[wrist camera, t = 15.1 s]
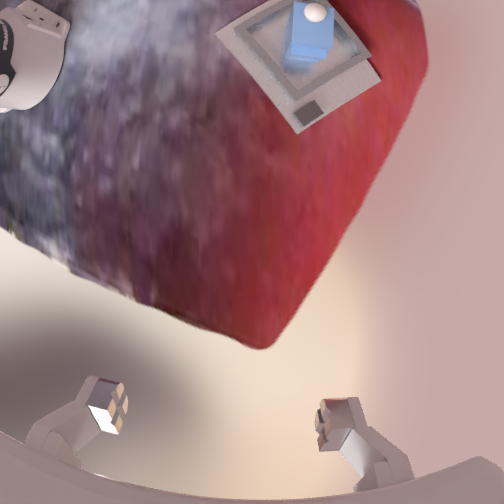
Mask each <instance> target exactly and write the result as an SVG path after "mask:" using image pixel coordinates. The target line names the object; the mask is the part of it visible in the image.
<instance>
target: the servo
mask: <svg viewBox="0 0 504 504" xmlns="http://www.w3.org/2000/svg"><path fill="white" fill-rule="evenodd" d="M333 31H334V8H329V7H328V6H323V5H321V4H318V3H305V2H298V1H294V4H293V6H292V9H291V12H290V15H289V18H288V21H287V25H286V40H285V54H284V58H292V59H300V60H307V61H314V62H318V61H320V60H326V59H327V53H328V52H329V51H330V50H331V49H332V48H333Z"/></svg>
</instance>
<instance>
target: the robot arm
mask: <svg viewBox="0 0 504 504" xmlns="http://www.w3.org/2000/svg"><path fill="white" fill-rule="evenodd" d="M59 24H60V25H59ZM58 25H59V26H58ZM69 29H70V22H69V21H67V20H65V19H64V18H62V17H60V16H59V15H57V14H55V13H54V12H52V11H50V10H49V9H47V8H45V7H43V6H42V5H40V4H38V3H36V2H34V1H32V0H26V1H25V2H23V3H22V4H20V5H19V6H18V7H17V8H12V7H7V8H5V9H3V10H2V11H1V12H0V112H1V113H5V112H8V111H10V110H12V109H19V110H25V109H29V108H31V107H33V106H35V105H36V104H38V103H39V102H40V101H41V100H42V99H43V98H44V97H45V96H46V95H47V94H48V92H49V91H50V90H51V88H52V86H53V85H54V83H55V81H56V79H57V77H58V75H59V72H60V69H61V66H62V62H63V57H64V43H65V39H66V37H67V34H68V32H69ZM123 390H124V386H123V384H122V383H118V382H115V381H110V380H106V379H102V378H99V377H94V376H89V377H88V378H87V379H86V381H85V383H84V385H83V387H82V388H81V390H80V392H79V394H78V396H77V398H76V400H75V402H73V401H71V402H70V403H68V404H66V405H65V406H63V407H61V408H59V409H58V410H56V411H54V412H52V413H51V414H49V415H47V416H45V417H44V418H42V419H40V420H39V421H37V422H35V423H34V425H33V426H32V428H31V430H30V432H29V434H28V436H27V438H26V439H25V441H24V443H21V442H19V441H17V440H16V439H14V438H12V437H10V436H8V435H6V434H4V433H3V432H1V431H0V504H504V472H503V470H502V469H501V468H500V467H498V466H497V465H496V464H494V463H492V462H491V461H489V460H487V459H485V458H483V457H481V456H477V457H474V458H471V459H469V460H466V461H464V462H462V463H459V464H457V465H454V466H452V467H449V468H446V469H443V470H441V471H438V472H435V473H432V474H428V475H426V476H422V477H419V478H414V475H413V471H412V468H411V466H410V462H409V460H408V457H407V455H406V454H404V453H403V452H402V451H401V450H400V449H398V448H397V447H396V446H394V445H393V444H392V443H391V442H389V441H388V440H387V439H386V438H384V437H383V436H382V435H381V434H380V433H378V432H377V431H376V430H375V429H373V428H372V427H371V426H370V427H368V426H367V423H366V420H365V417H364V414H363V410H362V407H361V404H360V401H359V398H358V397H349V398H333V399H332V398H331V399H322V400H321V402H320V409H319V410H317V413H316V416H315V428H316V431H317V432H318V433H319V437H318V439H317V441H318V446H319V451H320V452H323V451H339V453H340V454H341V455H342V456H343V457H344V458H345V459H346V460H347V461H348V463H349V464H350V465H351V466H352V467H353V468H354V469H355V470H356V471H357V472H358V473H359V475H360V476H361V477H362V479H361V480H360V481H359V482H358V483H357V484H356V485H355V486H354V487H353V489H354V493H348V494H342V495H334V496H326V497H316V498H304V499H286V500H243V499H224V498H213V497H203V496H195V495H187V494H180V493H173V492H168V491H162V490H158V489H153V488H148V487H143V486H139V485H134V484H131V483H127V482H123V481H119V480H116V479H112V478H109V477H106V476H102V475H99V474H96V473H93V472H90V471H87V470H84V469H81V465H82V463H81V461H80V460H79V458H78V457H77V456H76V455H75V452H77V451H78V450H79V449H80V448H82V447H83V446H84V445H85V444H87V443H88V442H89V441H90V440H91V439H93V438H94V437H95V436H96V435H97V434H99V432H101V430H102V431H106V432H110V433H114V434H119V432H120V429H121V426H122V424H123V422H122V420H121V418H122V417H123V416H125V415H126V412H127V408H128V398H127V395H126V394H125V393H124V392H123Z"/></svg>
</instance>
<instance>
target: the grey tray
mask: <svg viewBox="0 0 504 504" xmlns="http://www.w3.org/2000/svg"><path fill="white" fill-rule="evenodd" d="M294 1H298V2H305V3H318V4H321V5H323V6H328V7H329V8H333V7H332V5H331V4H330V3H329V2H328V1H327V0H269V1H267V2H266V3H264V4H262V5H260V6H258V7H257V8H255V9H253V10H251V11H250V12H248V13H246V14H244V15H243V16H241V17H239V18H238V19H236V20H235V21H233V22H231V23H230V24H228V25H227V26H225V27H224V28H222V29H221V30H219V31H218V32H216V33H215V36H216V37H217V38H218V39H219V40H220V41H221V43H222V44H223V45H224V46H225V47H226V48H227V49H228V50H229V51H230V53H231V54H232V55H233V56H234V57H235V58H236V59H237V60H238V62H239V63H240V64H241V65H242V66H243V67H244V69H245V70H246V71H247V72H248V73H249V75H250V76H251V77H252V78H253V79H254V81H255V82H256V83H257V84H258V85H259V87H260V88H261V89H262V90H263V92H264V93H265V94H266V95H267V97H268V98H269V99H270V100H271V102H272V103H273V104H274V106H275V107H276V108H277V109H278V111H279V112H280V113H281V115H282V116H283V117H284V119H285V120H286V121H287V123H288V124H289V125H290V127H291V128H292V129H293V131H294V132H295V133H296V134H299V133H300V132H301V131H303V130H304V129H306V128H307V127H309V126H310V125H312V124H313V123H315V122H316V121H318V120H319V119H321V118H323V117H324V116H326V115H327V114H329V113H330V112H332V111H333V110H335V109H336V108H338V107H340V106H341V105H343V104H344V103H346V102H348V101H349V100H351V99H352V98H354V97H356V96H357V95H359V94H360V93H362V92H364V91H365V90H367V89H369V88H370V87H372V86H374V85H375V84H377V83H379V82H380V81H381V79H380V78H379V76H378V75H377V73H376V72H375V71H374V69H373V68H372V66H371V65H370V63H369V62H368V61H367V58H369V57H371V56H372V55H371V54H370V53H369V51H368V50H367V48H366V47H365V46H364V44H363V43H362V42H361V40H360V39H359V38H358V37H357V35H356V34H355V33H354V31H353V30H352V29H351V28H350V27H349V25H348V24H347V23H346V22H345V20H344V19H343V18H342V17H341V16H340V15H339V13H338V12H337V11H336V10H335V9H334V31H333V48H332V49H331V50H330V51H329V52H328V53H327V59H326V60H320V61H318V62H314V61H307V60H300V59H292V58H284V54H285V40H286V25H287V21H288V18H289V15H290V12H291V9H292V6H293V4H294Z"/></svg>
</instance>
